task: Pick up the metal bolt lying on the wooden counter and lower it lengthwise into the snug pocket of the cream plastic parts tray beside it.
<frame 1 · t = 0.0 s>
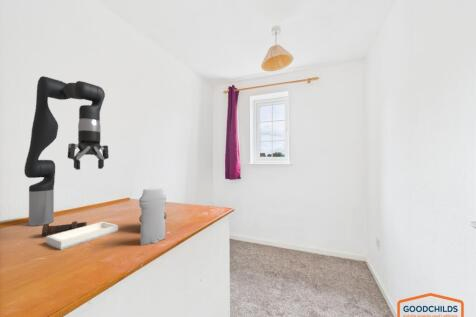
hand: (89, 169, 83), 29 cm above the worktop, tool pointing down, fingers open, 8 cm apart
tall pale column: (153, 242, 80), on the worktop
bolt: (65, 233, 90), on the worktop
parts tray: (84, 237, 84), on the worktop
apothecary jar: (153, 229, 94), on the worktop
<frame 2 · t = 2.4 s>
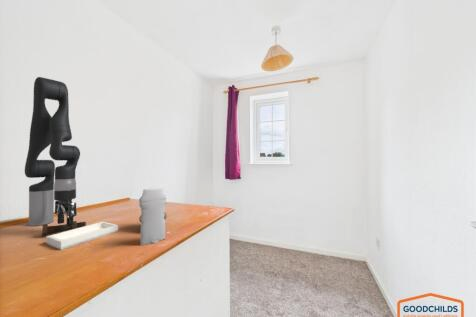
hand: (65, 224, 89), 4 cm above the worktop, tool pointing down, fingers open, 8 cm apart
bolt: (65, 233, 90), on the worktop, touching gripper
everything else where it was.
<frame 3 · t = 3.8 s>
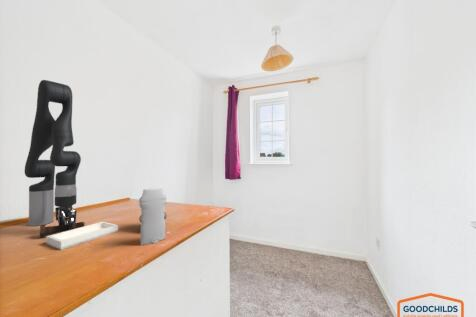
hand: (65, 231, 90), 1 cm above the worktop, tool pointing down, fingers closed on bolt, 6 cm apart
bolt: (63, 233, 89), on the worktop, touching gripper
everything else where it was.
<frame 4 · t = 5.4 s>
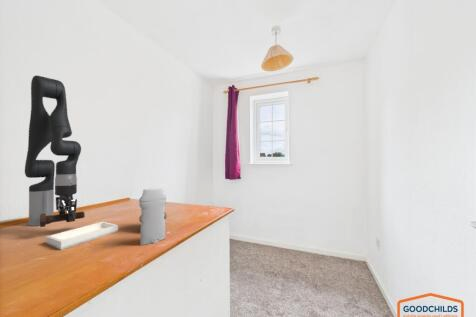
hand: (65, 220, 90), 5 cm above the worktop, tool pointing down, fingers closed on bolt, 6 cm apart
bolt: (63, 223, 89), point 5 cm above the worktop, touching gripper
everything else where it was.
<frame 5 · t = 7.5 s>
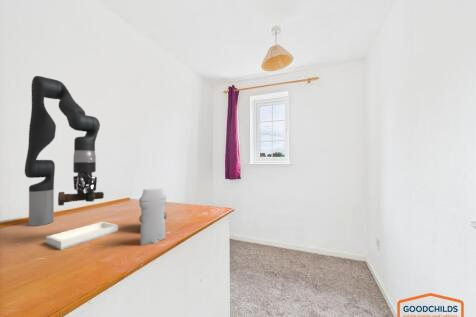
hand: (84, 200, 84), 16 cm above the worktop, tool pointing down, fingers closed on bolt, 6 cm apart
bolt: (82, 202, 84), point 15 cm above the worktop, touching gripper
everything else where it was.
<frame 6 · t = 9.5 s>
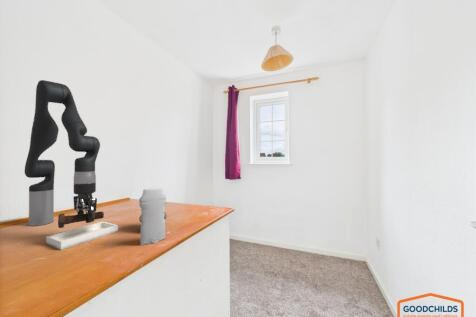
hand: (84, 221, 84), 7 cm above the worktop, tool pointing down, fingers closed on bolt, 6 cm apart
bolt: (82, 223, 84), point 6 cm above the worktop, touching gripper
everything else where it was.
when the fingers open (4 cm above the worktop, at t = 11.2 s): bolt drops 2 cm, resting on parts tray.
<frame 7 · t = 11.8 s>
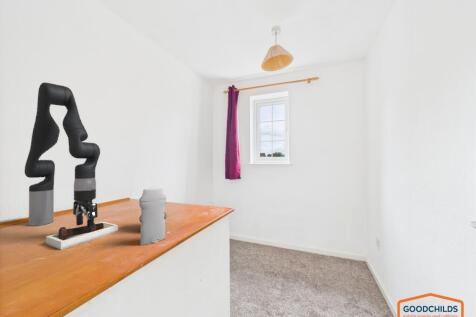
hand: (85, 226, 84), 5 cm above the worktop, tool pointing down, fingers open, 8 cm apart
bolt: (83, 236, 84), point 1 cm above the worktop, touching parts tray
everything else where it was.
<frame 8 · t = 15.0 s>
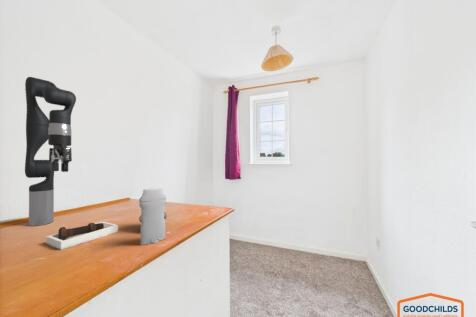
hand: (60, 171, 86), 28 cm above the worktop, tool pointing down, fingers open, 8 cm apart
nothing on the worktop moved.
at the end: bolt inside the target area on the parts tray (0.6 cm from its centre), point 0.6 cm above the parts tray's base; bolt touching parts tray; the gripper is holding nothing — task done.
